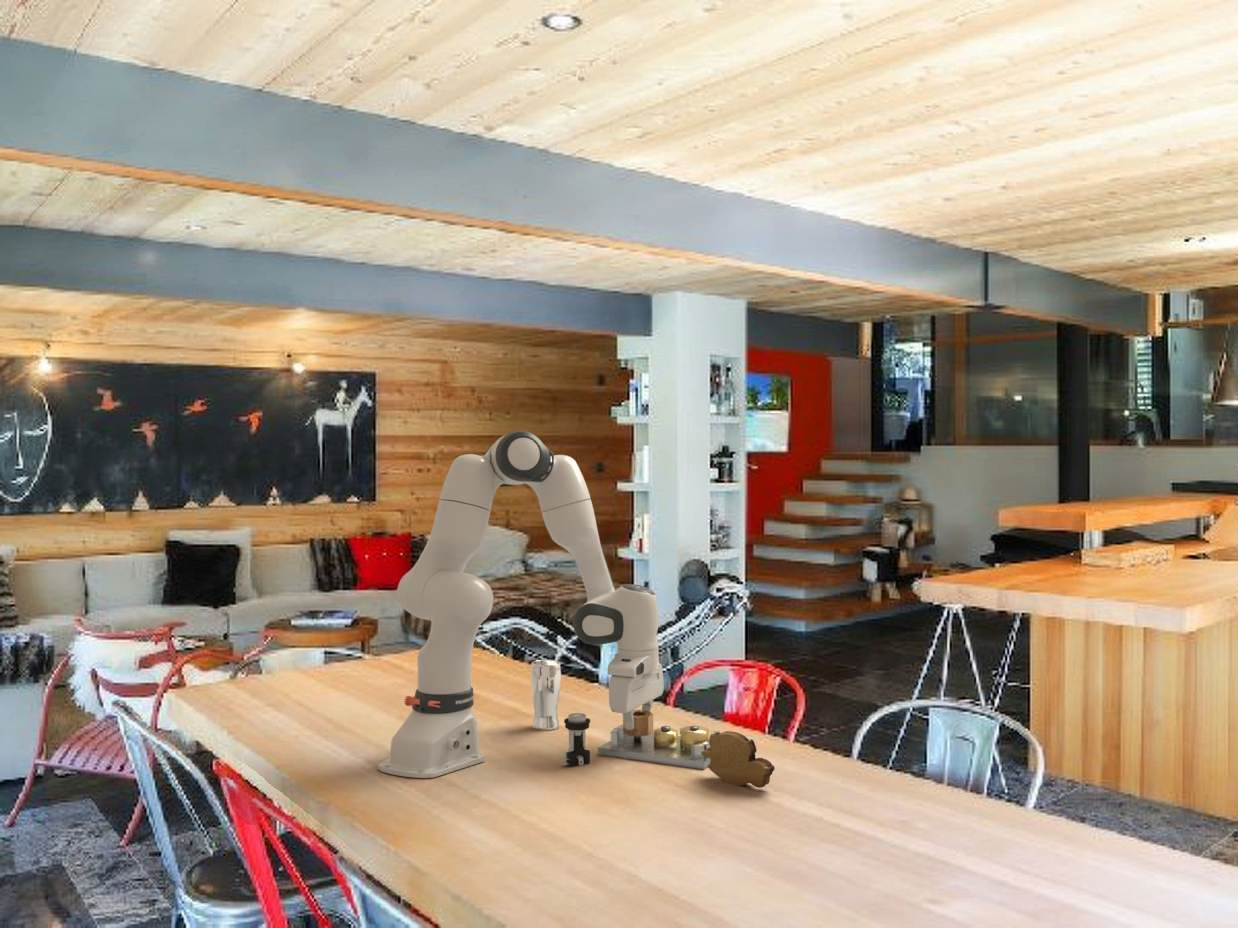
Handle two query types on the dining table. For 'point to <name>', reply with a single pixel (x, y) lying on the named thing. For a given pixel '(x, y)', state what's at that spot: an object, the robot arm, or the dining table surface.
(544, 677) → the beer glass
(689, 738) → the carrier
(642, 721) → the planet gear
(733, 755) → the wooden carving
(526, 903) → the dining table surface
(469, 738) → the robot arm
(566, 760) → the push button
